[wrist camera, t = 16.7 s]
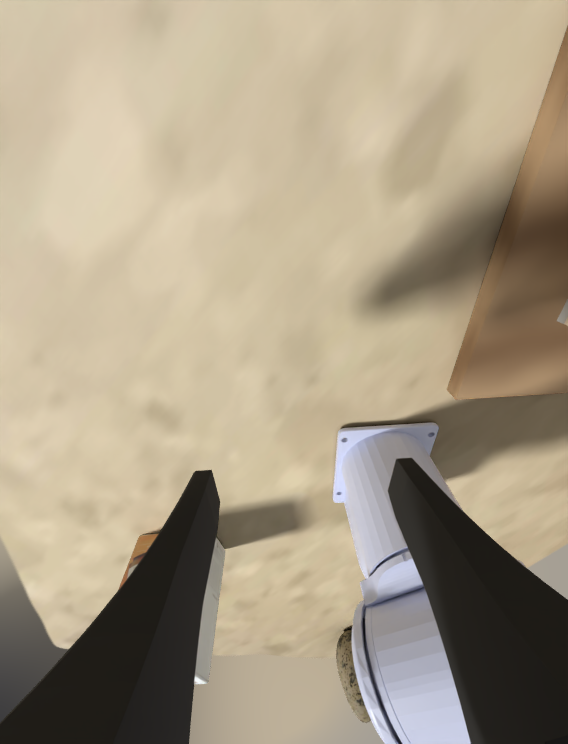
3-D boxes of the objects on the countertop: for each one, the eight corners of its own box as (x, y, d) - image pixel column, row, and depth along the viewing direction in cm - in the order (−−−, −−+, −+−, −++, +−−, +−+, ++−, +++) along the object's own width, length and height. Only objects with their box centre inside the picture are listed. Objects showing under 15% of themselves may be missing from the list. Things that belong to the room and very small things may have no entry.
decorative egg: (355, 637, 51) (372, 726, 42) (326, 634, 49) (337, 726, 41) (374, 626, 48) (396, 719, 40) (343, 622, 46) (360, 718, 38)
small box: (210, 523, 29) (184, 667, 20) (226, 549, 32) (210, 685, 23) (137, 534, 30) (81, 679, 21) (160, 559, 33) (119, 695, 24)
